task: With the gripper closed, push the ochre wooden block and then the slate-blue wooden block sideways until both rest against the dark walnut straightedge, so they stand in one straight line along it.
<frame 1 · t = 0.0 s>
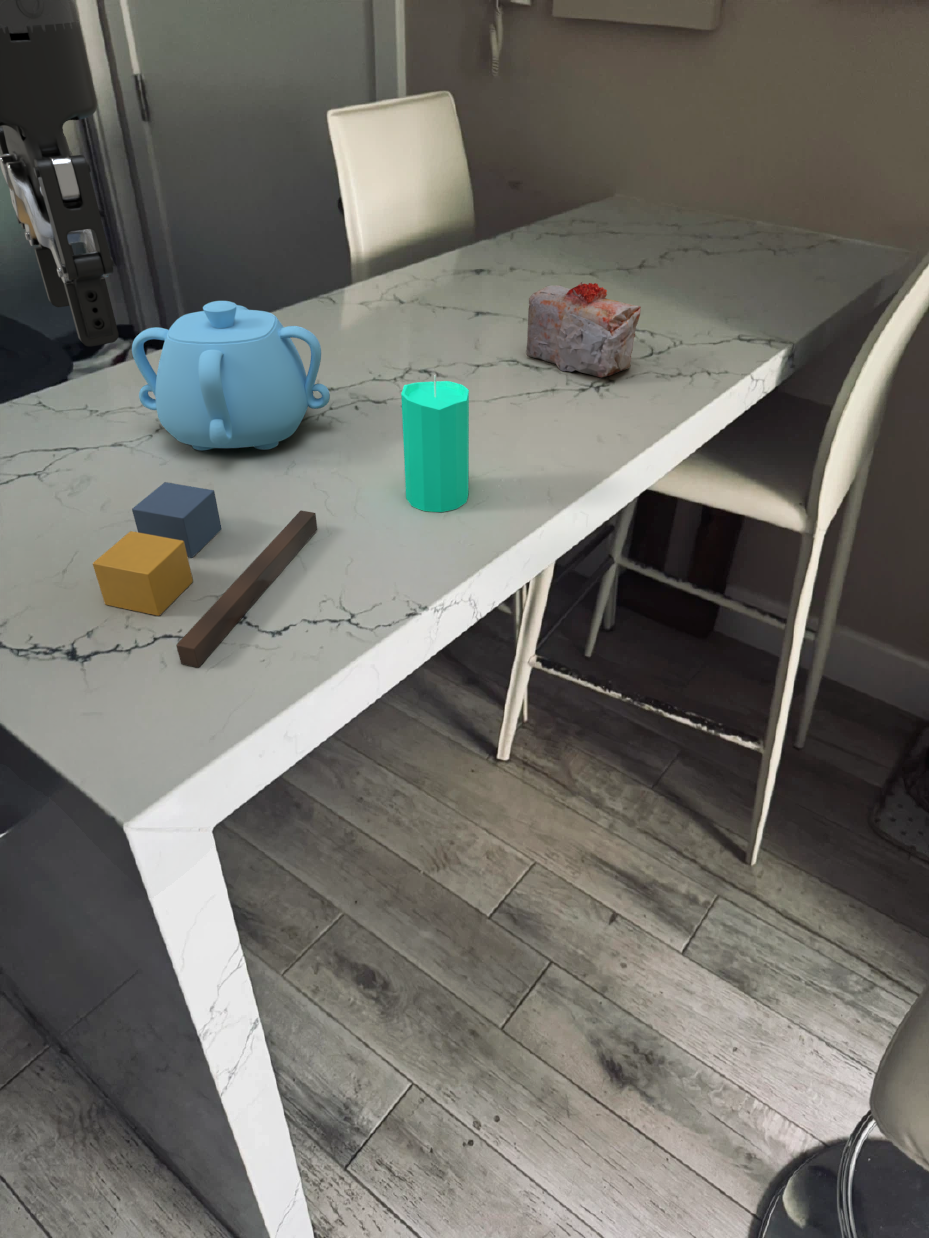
hand: (83, 322, 56), 22 cm above the counter, tool pointing down, fingers open, 8 cm apart
ochre block: (150, 593, 71), on the counter
decorative pot: (241, 432, 95), on the counter
slate block: (182, 538, 77), on the counter
straightedge: (256, 590, 71), on the counter
food item: (578, 366, 110), on the counter
candle: (437, 498, 83), on the counter
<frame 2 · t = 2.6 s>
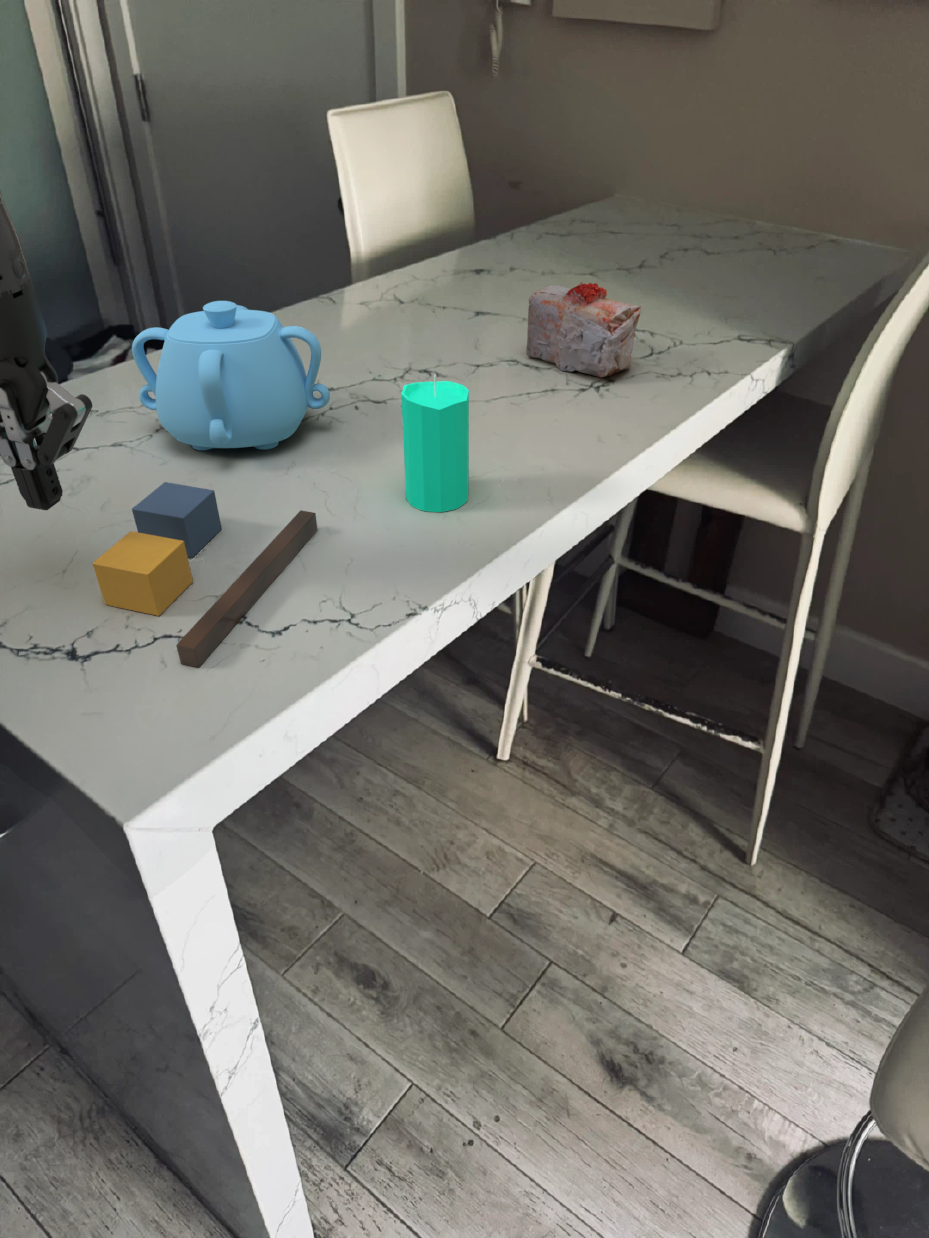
hand: (46, 504, 69), 7 cm above the counter, tool pointing down, fingers closed
nothing on the counter moved.
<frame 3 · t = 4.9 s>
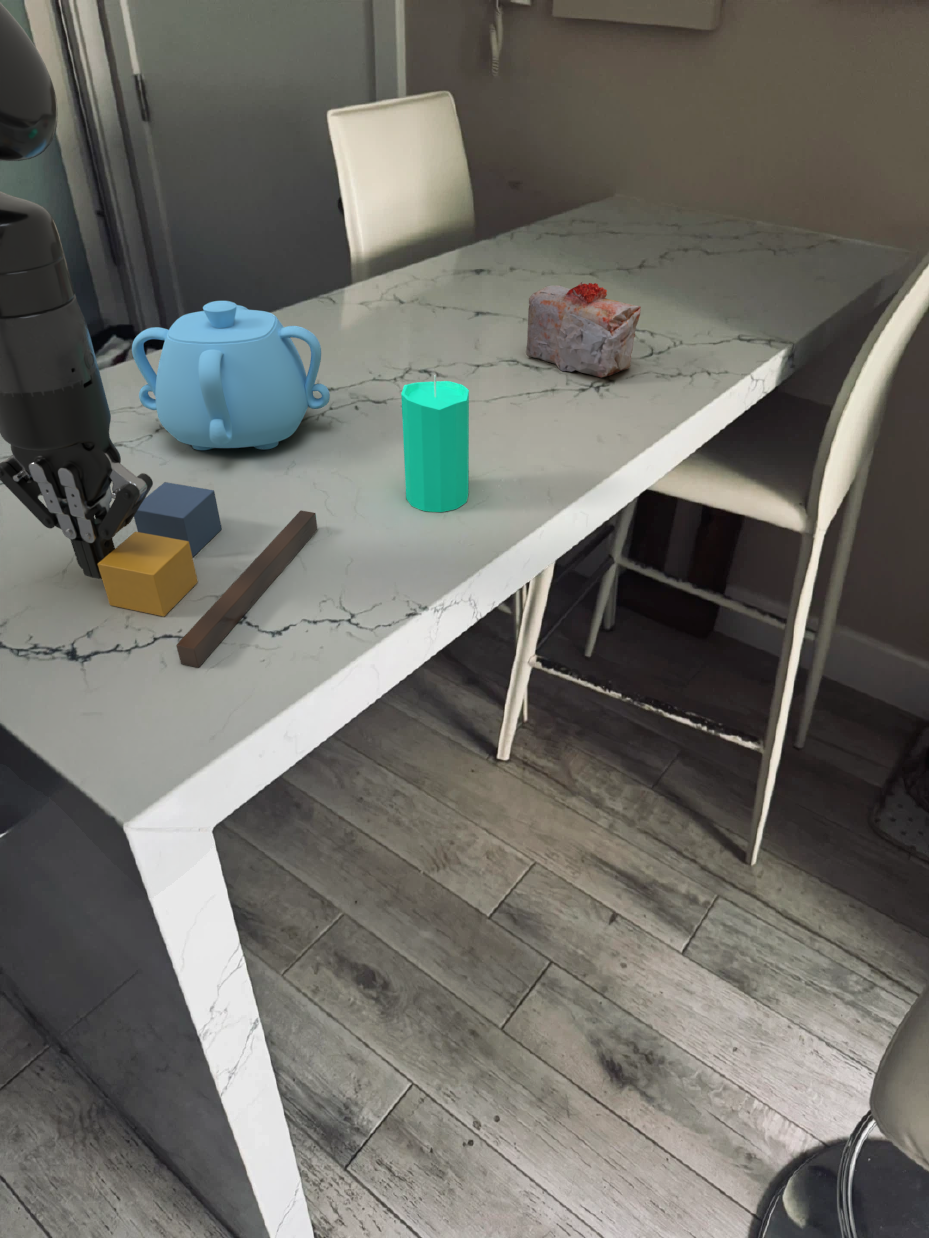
hand: (101, 572, 71), 1 cm above the counter, tool pointing down, fingers closed
ochre block: (154, 593, 71), on the counter, touching gripper
everything else where it was.
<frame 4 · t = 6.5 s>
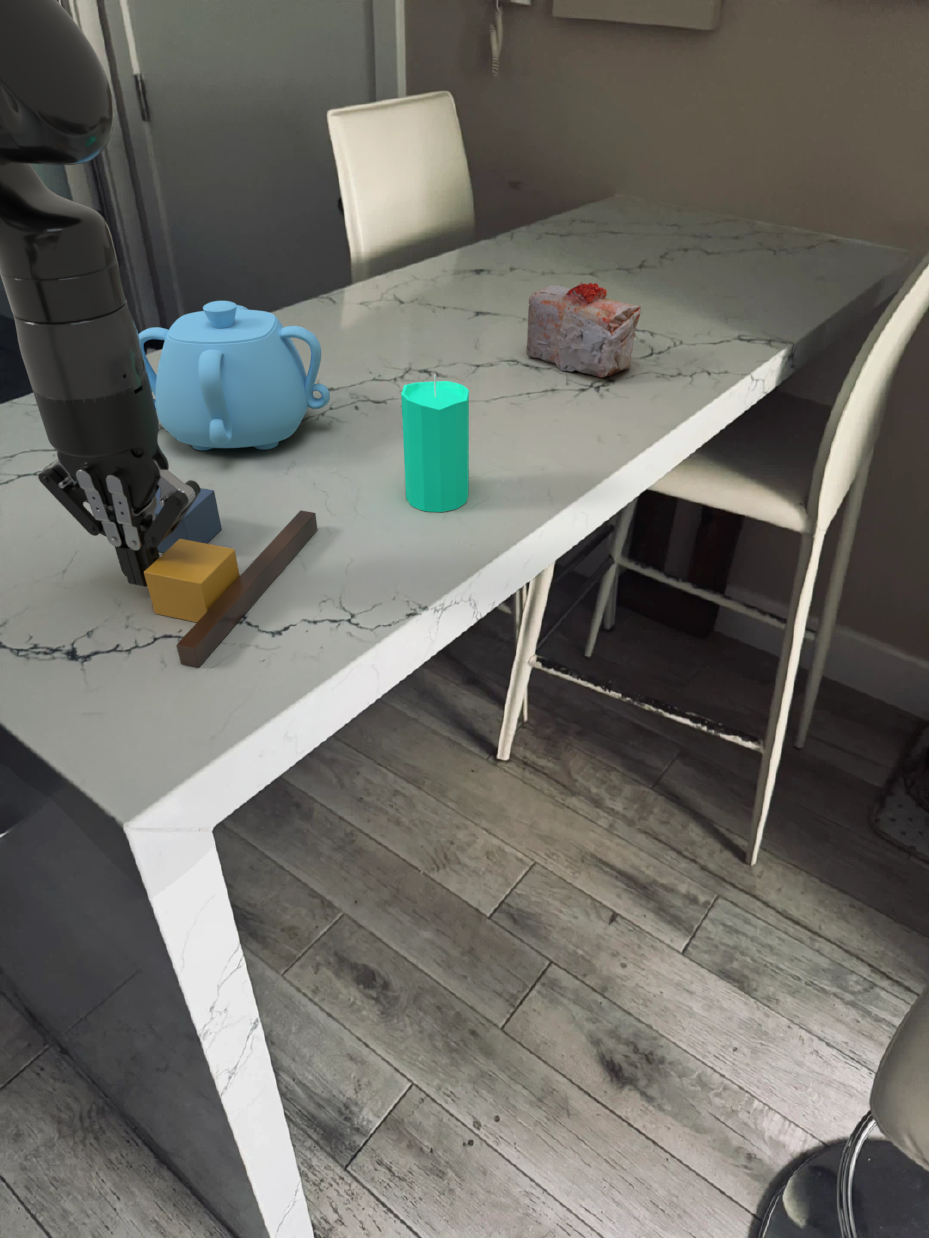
hand: (145, 580, 70), 1 cm above the counter, tool pointing down, fingers closed
ochre block: (199, 601, 70), on the counter, touching gripper
everything else where it was.
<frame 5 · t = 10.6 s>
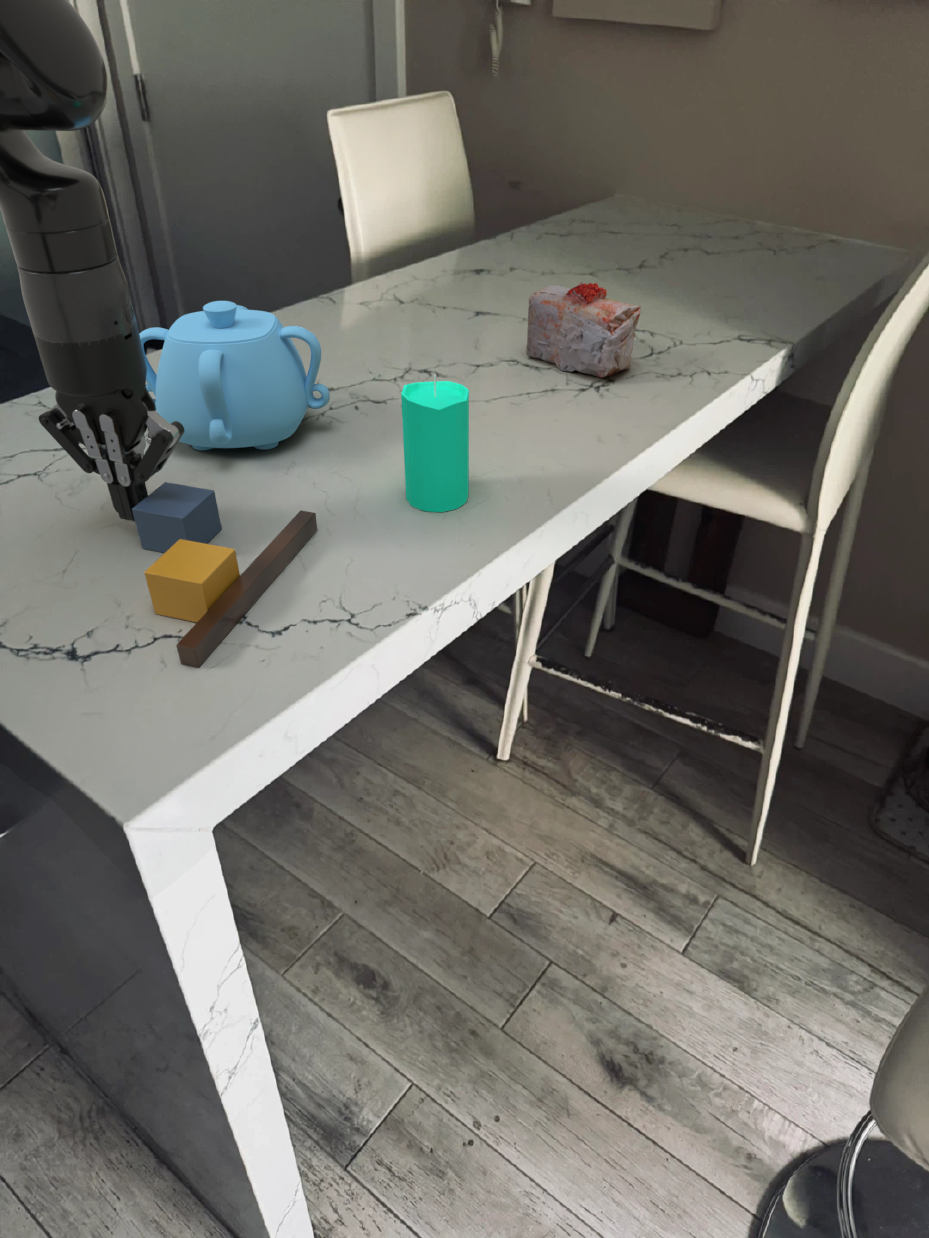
hand: (135, 516, 77), 1 cm above the counter, tool pointing down, fingers closed
ochre block: (199, 601, 70), on the counter
slate block: (182, 539, 77), on the counter, touching gripper
everything else where it was.
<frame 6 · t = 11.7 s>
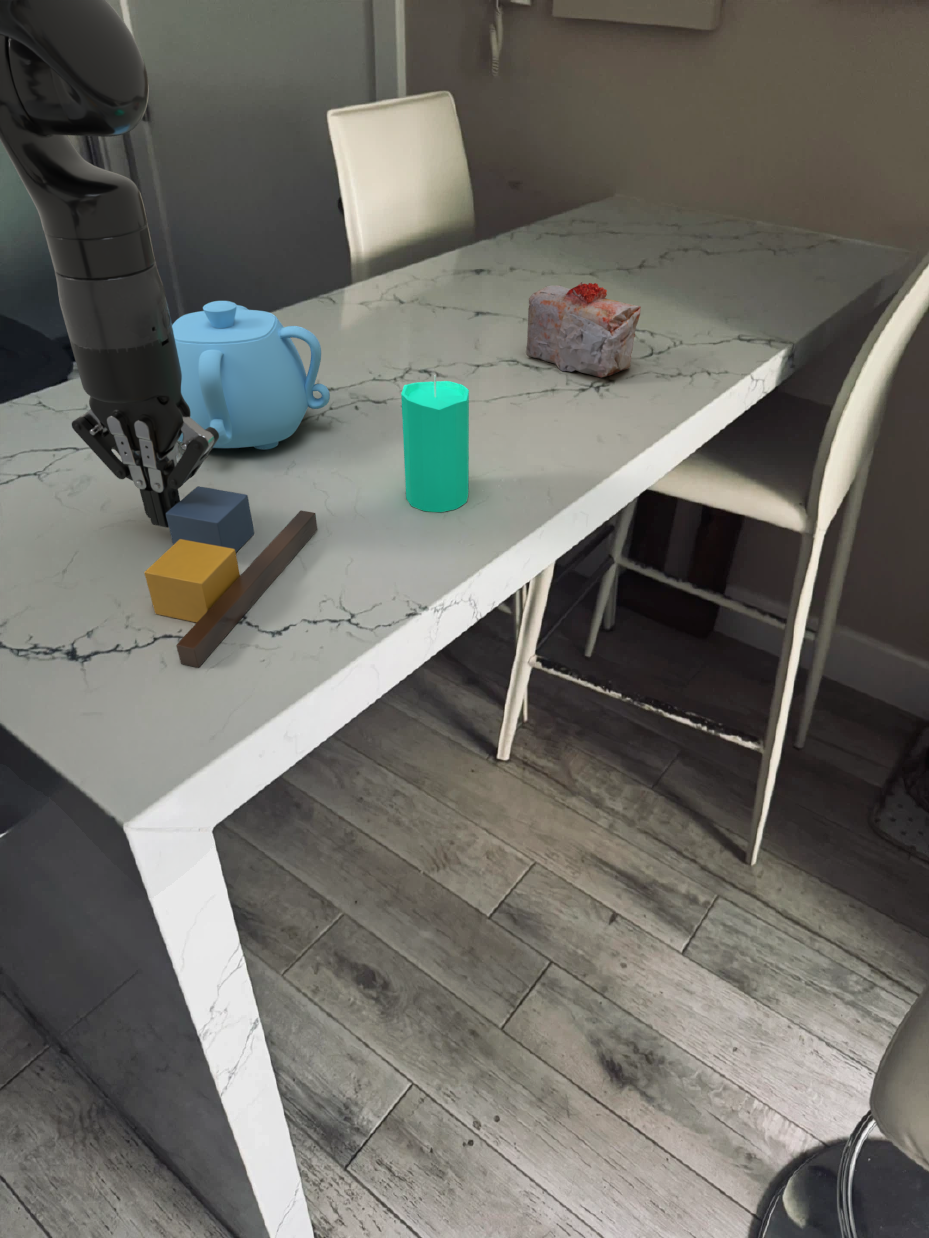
hand: (166, 521, 77), 1 cm above the counter, tool pointing down, fingers closed
slate block: (215, 543, 77), on the counter, touching gripper
everything else where it was.
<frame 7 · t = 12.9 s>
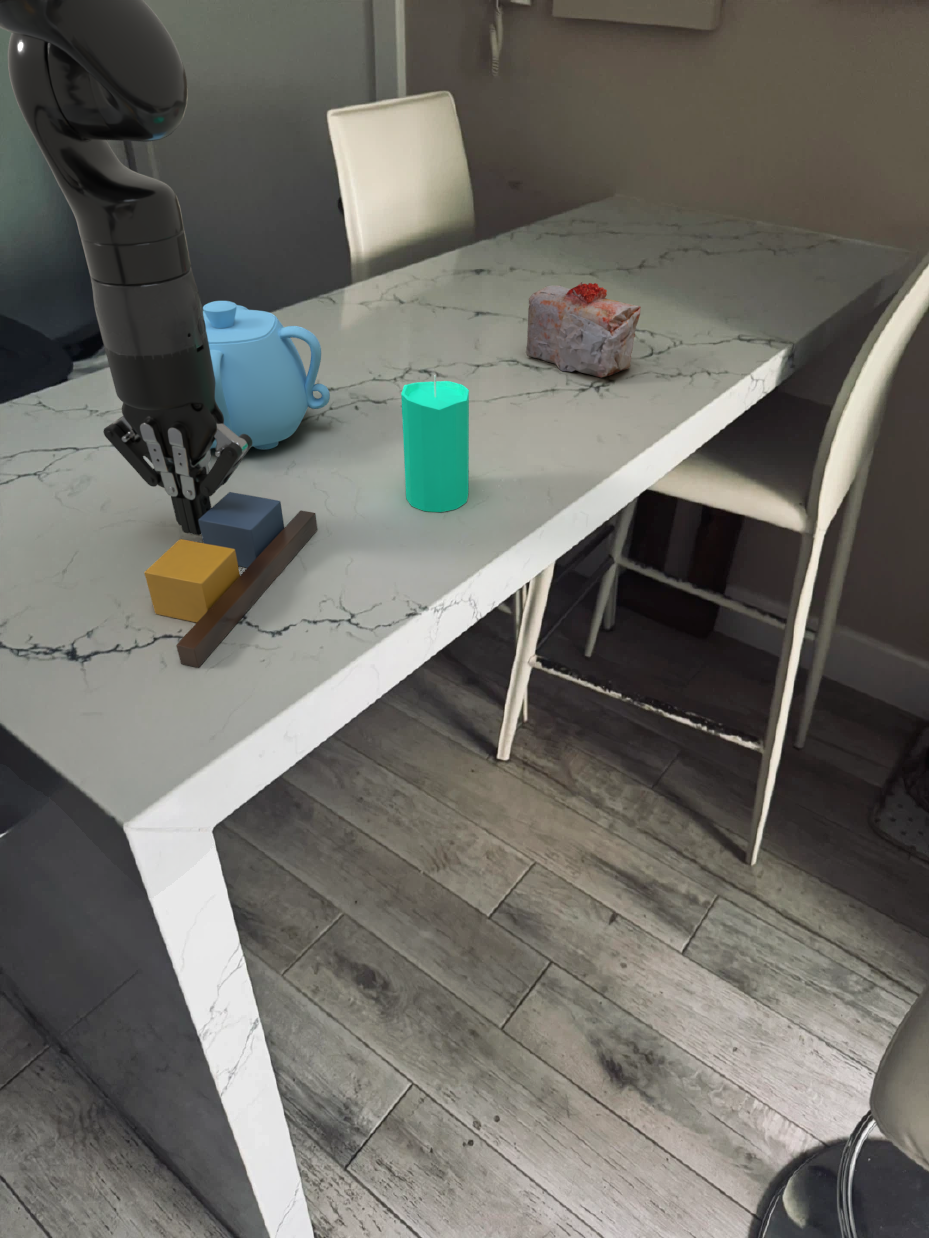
hand: (197, 529, 76), 1 cm above the counter, tool pointing down, fingers closed
slate block: (247, 549, 76), on the counter, touching gripper
everything else where it was.
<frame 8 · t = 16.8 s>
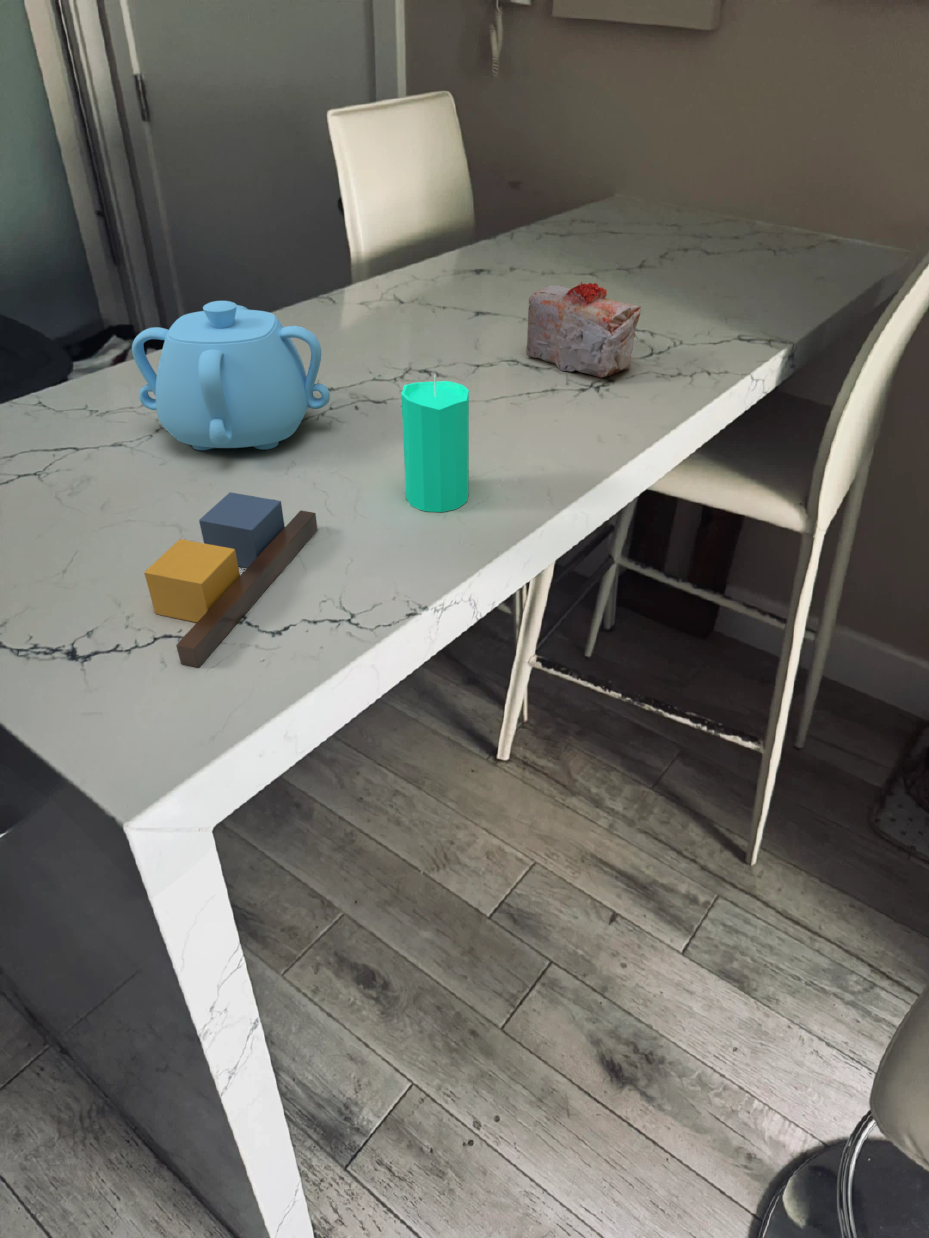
slate block: (247, 550, 76), on the counter
everything else where it was.
at the end: ochre block 0.3 cm from the target spot, on the counter; slate block 0.4 cm from the target spot, on the counter; ochre block 7.9 cm from the slate block (horizontally) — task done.
